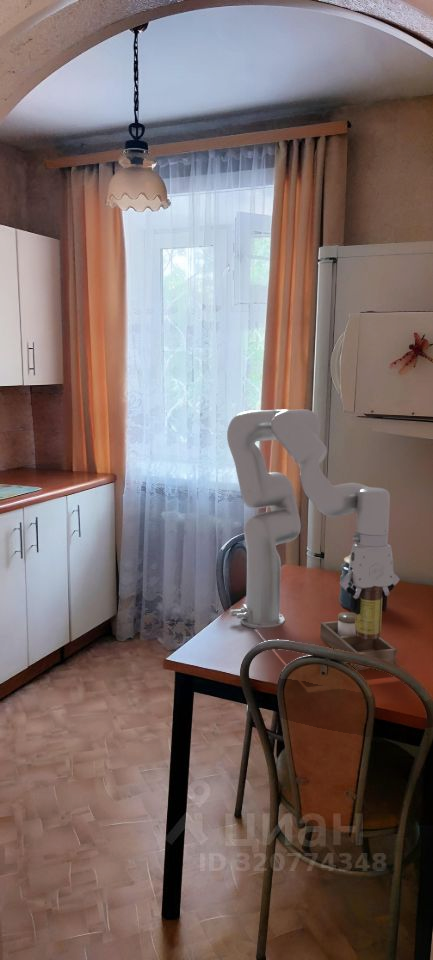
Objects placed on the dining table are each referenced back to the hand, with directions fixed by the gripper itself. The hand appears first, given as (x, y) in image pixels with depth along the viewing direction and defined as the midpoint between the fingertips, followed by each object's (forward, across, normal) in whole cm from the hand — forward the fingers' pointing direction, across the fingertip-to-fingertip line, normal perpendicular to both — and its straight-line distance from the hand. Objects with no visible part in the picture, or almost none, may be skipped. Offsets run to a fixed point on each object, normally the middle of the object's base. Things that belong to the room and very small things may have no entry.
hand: (368, 610), depth 161 cm
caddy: (+13, 0, +5) cm, 14 cm away
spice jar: (+12, 0, +10) cm, 16 cm away
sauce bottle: (+7, 0, 0) cm, 7 cm away
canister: (+13, +18, +37) cm, 43 cm away
